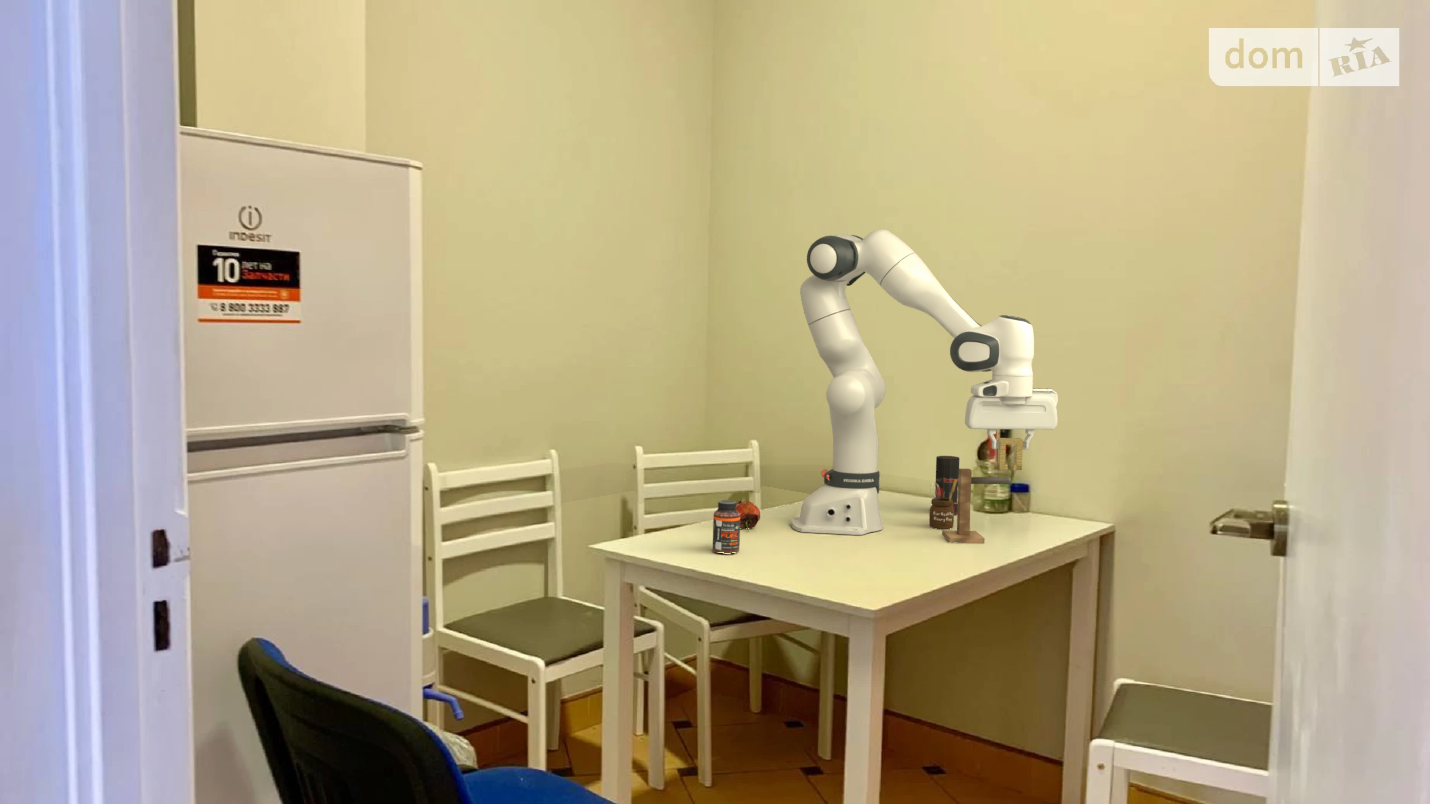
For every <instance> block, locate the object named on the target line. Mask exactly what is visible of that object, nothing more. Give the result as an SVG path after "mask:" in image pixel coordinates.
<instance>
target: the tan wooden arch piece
mask: <svg viewBox="0 0 1430 804" xmlns="http://www.w3.org/2000/svg"><path fill="white" fill-rule="evenodd" d="M997 441H1000V449H997V459H996V460H997V465H996V469H997V470H999V471H1008V469H1009V468H1008V466H1009V465H1008V463H1006V450H1007V445H1014V453H1013V455H1014V457H1013V463H1011V464H1010V468H1011V470H1013V471H1022V470H1023V450H1024V449H1023V441H1024V439H1023V438H1021V437H998V438H997Z"/></svg>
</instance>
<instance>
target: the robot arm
mask: <svg viewBox="0 0 1430 804" xmlns="http://www.w3.org/2000/svg"><path fill="white" fill-rule="evenodd" d="M806 263H807V267H808V269H809V271H810V273H812V275H811V276H809V277H807V278H806V279H805V280H804V281H803V282H802V284H801V285H800V288H799V294H800V300H801V301H800V302H801V305H802V309H803V313H804V318H805V320H806V324H807V325H808V328H809V332H810V334H811V337H812V339H813V342H814V345H815V347H816V350H817V352H818V355H819V357H820V358H821V360H822V361H823V362H824V363H825V365H826V366H827V368H828V370H829V372H830V374H831V375H832V380H831V381H830V382H829V384H828V385H827V389H826V393H825V394H826V400H827V401H826V402H827V404H828V407H829V415H830V416H829V417H830V424H831V430H832V441H833V442H832V468H831V469H830V470H828V469H827V468H822V470H820V474H821V477H822V478H823V481H824V482H823V483H824V484H823V485H822V486H821V487H819V488H817V489H816V490H815V491H813V492H812V493H811V494H809V495H808V496H807V497H805V498H804V500H803V502H802V504H801V507H800V513H799V516H796V517H793V518H792V519H791V520H790V521H791V522H790V526H791V527H792V529H793V530H795V531H798V532H801V533H812V534H813V533H815V534H817V533H818V534H835V535H852V536H853V535H854V536H855V535H857V536H862V535H866V534H868V533H872V532H878V531H881V530H883V529H884V526H883V522H882V517H881V512H880V510H881V509H880V503H879V493H880V490H881V486H880V485H881V475H880V474H881V473H880V471H879V443H880V442H879V436H878V431H877V426H876V417H875V409H876V408H878V407H879V406H880V405H881V404H882V402H883V401H884V399H885V396H886V392H887V385H886V381H885V379H884V378H883V377H882V375H881V373H880V371H879V368H878V367H877V365H876V363H875V361H874V359H873V358H872V355H871V354H870V352H869V350H868V348H867V346H866V344H865V343H864V341H863V338H862V335H861V334H860V330H859V328H858V325H857V322H856V320H855V318H854V314H853V313H852V310H851V307H850V304H849V301H848V299H847V296H846V287H850V286H852V285H853V284H854V283H855V282H856V281H858V279H860V278H861V277H863V275H865V274H868V275H869V276H870V277H872V278H873V279H874V280H875V281H876V283H877V284H878V285H879V286H880V287H881V288H882V289H883V291H885V293H887V294H888V295H889V296H890V297H891V298H893V300H895V301H896V302H898V303H899V304H901V305H903V306H905V307H908V308H911V309H914V310H918V311H920V312H922V313H924V314H926V315H928V316H929V317H931V318H932V319H934V321H936V322H938V324H939V325H940V326H941V327H942V328H943V329H944V330H945V331H946V332H947V333H948V334H949V335H950V336H951V337H953V340H952V342H951V344H950V348H949V354H950V355H949V356H950V359H951V362H952V363H953V364H954V366H955V367H957V368H958V369H960V370H962V371H964V372H968V373H979V372H986V373H987V372H992V373H991V374H992V376H991V379H990V380H986V381H983V382H979V383H976V384H973V385H971V387H970V393H971V395H972V396H970V397H969V399H968V400H967V403H966V408H965V416H964V423H965V426H966V427H967V428H968V429H970V430H987V431H986V433H987V436H988V437H989V439H990V441H991V449H992V450H998V449H1000V441H998V440H997V439H996V437H995V435H996V434H997V430H1024V431H1025V434H1026V436H1025V438H1024V439H1023V449H1022V450H1029V448H1030V446H1029V445H1030V441H1031V440H1032V438H1033V437H1034V435H1035V430H1037V431H1038V430H1043V431H1045V430H1051V431H1054V430H1055V429H1056V428H1057V426H1058V411H1057V406H1058V403H1059V395H1058V393H1057V392H1056V391H1055V390H1053V389H1052V388H1048V387H1046V388H1039V387H1037V388H1035V387H1034V384H1033V383H1034V372H1033V367H1032V365H1033V360H1034V357H1035V335H1034V328H1033V324H1032V323H1031V322H1030V321H1029V320H1028V319H1026V318H1023V317H1019V316H1015V315H1007V314H1005V315H1004V314H1003V315H998V316H997V317H996V318H994V319H993V320H991V321H990V322H988V323H986V324H983V325H981V323H978V322H977V321H976V320H975V319H974V318H973V317H972V316H971V315H969V313H967V311H965V309H964V308H963V307H961V306H960V304H959V303H957V302H956V300H954V299H953V298H952V296H950V295H949V293H948V292H947V290H946V289H944V287H943V285H942V284H941V283H940V281H939V280H938V279H937V278H936V277H935V275H934V274H933V273H932V271H931V270H930V268H929V267H928V266H927V264H926V263H925V262H924V261H923V260H922V259H921V257H920V256H919V255H918V254H917V253H916V252H915V251H914V250H913V249H912V248H910V246H909V245H908V244H907V243H905V242H904V241H903V240H902V238H899V237H898V236H897V235H895V234H894V233H892V232H891V231H889V230H888V229H884V228H883V229H882V228H879V229H876V230H873V231H871V232H870V233H868V234H867V235H865V237H864V238H862V237H861V236H858V235H856V234H855V235H854V234H845V233H839V234H835V235H825V236H821V237H820V238H817V239H816V240H815V241H814V242H813V243H811V245H810V247H809V248H808V251H807V253H806Z"/></svg>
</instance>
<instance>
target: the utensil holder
mask: <svg viewBox="0 0 1430 804" xmlns="http://www.w3.org/2000/svg"><path fill="white" fill-rule="evenodd" d="M956 482H957V480H956V479H955V480H954V483H953V486H952V489H951V495H950V499H949V498H935V497H936V496H935V494H934V495H933V494H931V497H932V498H931V505H930V508H929V514H928V515H929V516H928V517H929V519H928V523H929V527H930V528H931V529H935V528H937V529H936V530H951V529H953V528H954V521H955V516H954V509H953V507H952V505H953V500H952V499H951V497H952V494H953V492H954V489H955V485H956ZM935 484H936V485H937V483H936V482H934V483H932V484H931V485H930V489H929V490H930V493H935V490H934V488H932V487H934V485H935ZM937 488H938V487H937ZM939 488H940V487H939ZM933 490H934V491H933ZM936 493H937V492H936ZM939 493H940V491H939ZM939 497H940V495H939ZM950 528H951V529H950Z"/></svg>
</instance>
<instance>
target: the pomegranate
mask: <svg viewBox="0 0 1430 804" xmlns="http://www.w3.org/2000/svg"><path fill="white" fill-rule="evenodd" d="M736 510H737V511H738V512H739V513H740V528H747V533H748V532H750V531H749V530H750V529H753V528H755V527H756V526H757V524H758V522H759V521H760V520H761V511H760V508H759V507H758V506H757V505H756V504H754V503H753V502H751V501H749V500H743V501H742V500H739V501H738V502H736ZM748 528H750V529H748Z"/></svg>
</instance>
